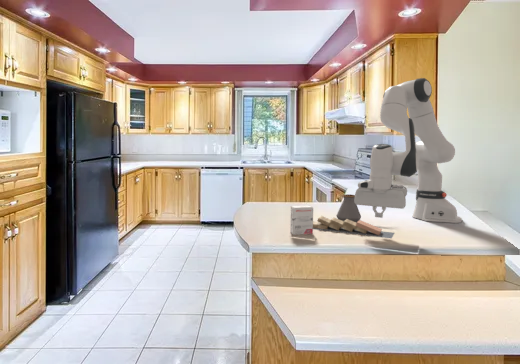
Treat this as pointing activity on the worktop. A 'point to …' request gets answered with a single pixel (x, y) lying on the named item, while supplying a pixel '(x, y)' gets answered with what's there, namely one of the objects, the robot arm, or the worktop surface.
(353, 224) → the domino
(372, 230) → the domino
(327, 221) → the domino
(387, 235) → the runner mat
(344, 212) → the coffee pot
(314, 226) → the domino
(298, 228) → the ink box
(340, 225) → the domino
